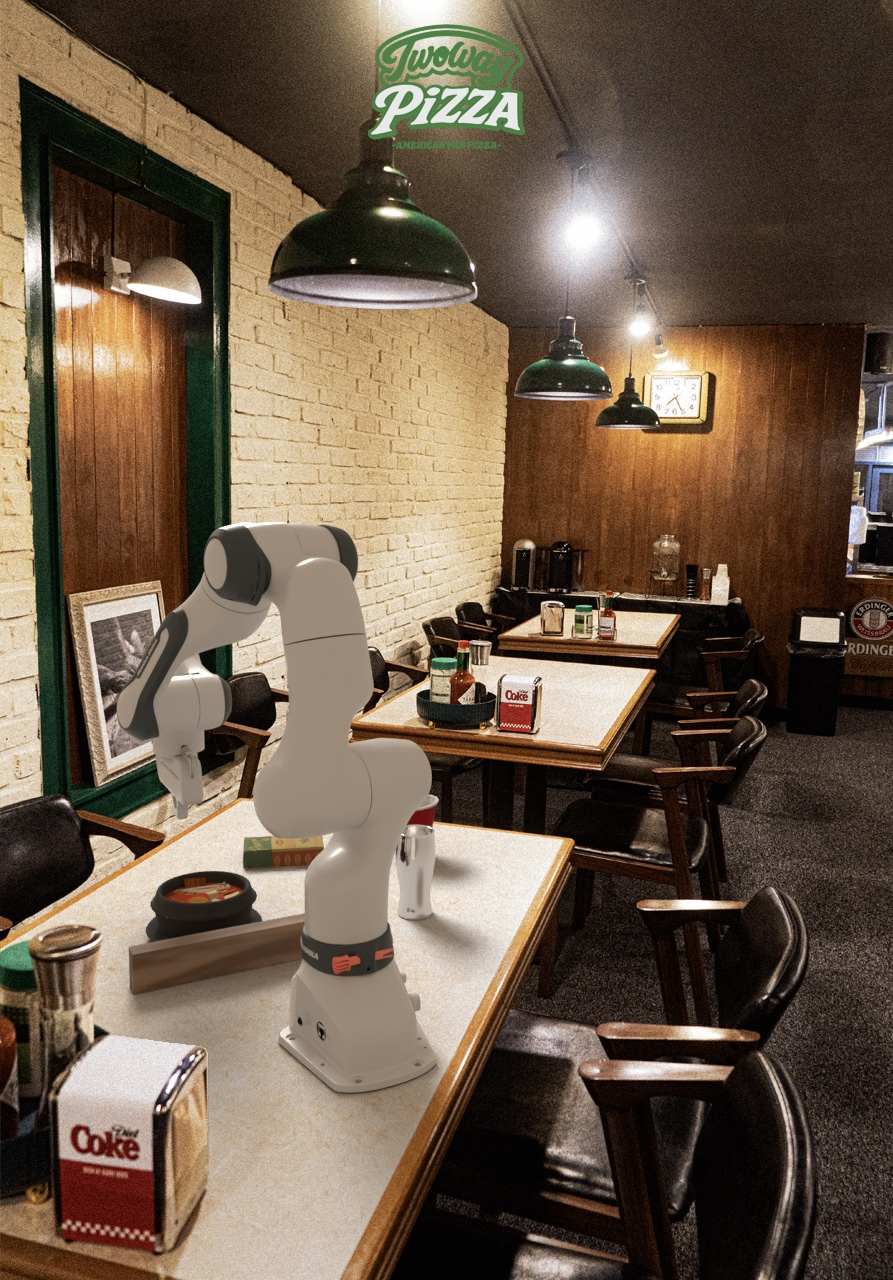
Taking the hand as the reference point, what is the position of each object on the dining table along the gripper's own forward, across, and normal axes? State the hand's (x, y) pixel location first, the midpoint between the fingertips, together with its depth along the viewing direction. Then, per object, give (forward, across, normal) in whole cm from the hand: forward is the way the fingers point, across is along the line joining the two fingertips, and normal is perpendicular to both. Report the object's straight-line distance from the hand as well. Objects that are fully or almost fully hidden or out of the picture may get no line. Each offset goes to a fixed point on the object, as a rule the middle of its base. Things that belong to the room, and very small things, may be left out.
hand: (181, 817), depth 170 cm
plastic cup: (+16, +3, -47) cm, 49 cm away
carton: (+16, +12, -23) cm, 30 cm away
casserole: (+16, -16, 0) cm, 23 cm away
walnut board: (+16, -30, 0) cm, 34 cm away
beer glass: (+16, -23, -35) cm, 45 cm away
